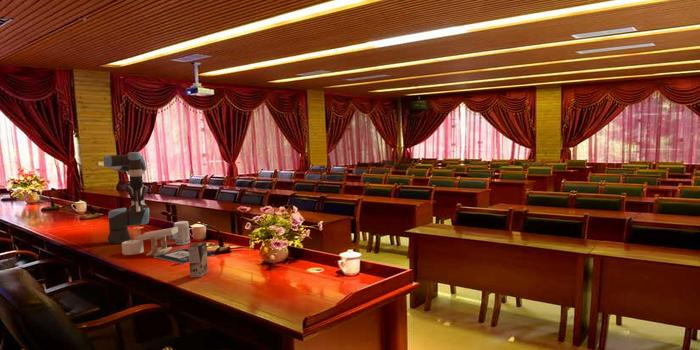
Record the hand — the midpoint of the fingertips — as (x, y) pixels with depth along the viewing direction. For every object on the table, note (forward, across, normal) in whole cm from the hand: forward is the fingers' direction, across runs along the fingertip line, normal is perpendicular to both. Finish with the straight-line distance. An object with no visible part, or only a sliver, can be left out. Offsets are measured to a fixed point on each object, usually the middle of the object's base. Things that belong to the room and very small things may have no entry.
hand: (138, 211), depth 306 cm
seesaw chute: (+16, +19, -13) cm, 28 cm away
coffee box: (+21, +61, -70) cm, 96 cm away
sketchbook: (+23, +39, -31) cm, 55 cm away
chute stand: (+23, +19, -17) cm, 35 cm away
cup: (+24, +2, -16) cm, 29 cm away
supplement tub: (+24, +26, +5) cm, 36 cm away
